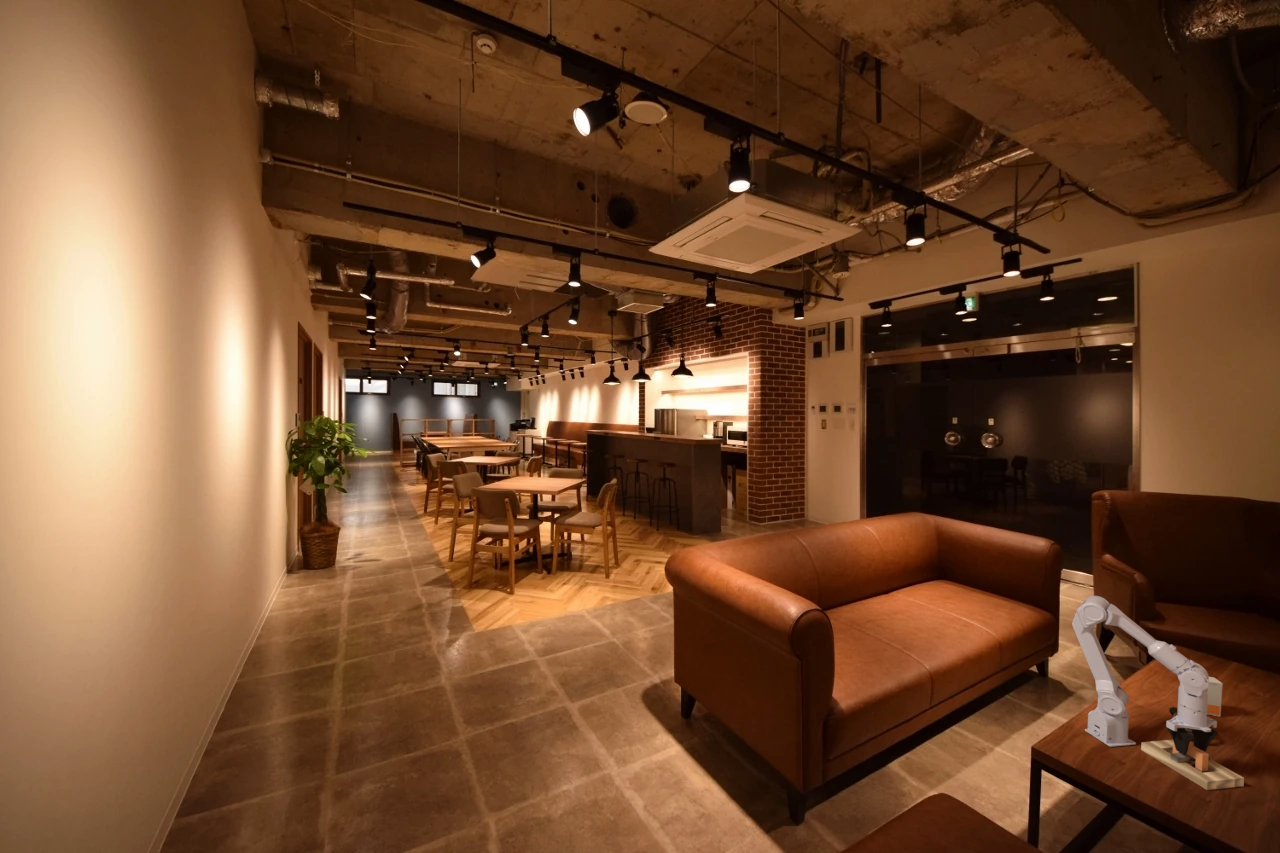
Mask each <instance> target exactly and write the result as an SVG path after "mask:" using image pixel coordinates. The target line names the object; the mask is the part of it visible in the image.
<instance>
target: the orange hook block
mask: <svg viewBox="0 0 1280 853" xmlns="http://www.w3.org/2000/svg"><path fill="white" fill-rule="evenodd" d="M1173 753H1180V752H1179V751H1177V750H1176V748H1175V744H1174V741H1173ZM1208 754H1209V753H1207V751H1206V752H1204V751H1202V750H1200V749H1199V748H1197V747H1195V746H1194V744H1191V743H1189V746H1188V752H1187V755H1189V756H1191V757H1193V758H1194V759H1196V763H1195V764H1194V765H1195V767H1194V768H1196V769H1197V770H1199V771H1201V772H1208Z"/></svg>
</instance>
